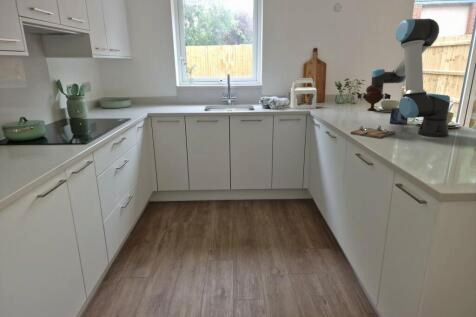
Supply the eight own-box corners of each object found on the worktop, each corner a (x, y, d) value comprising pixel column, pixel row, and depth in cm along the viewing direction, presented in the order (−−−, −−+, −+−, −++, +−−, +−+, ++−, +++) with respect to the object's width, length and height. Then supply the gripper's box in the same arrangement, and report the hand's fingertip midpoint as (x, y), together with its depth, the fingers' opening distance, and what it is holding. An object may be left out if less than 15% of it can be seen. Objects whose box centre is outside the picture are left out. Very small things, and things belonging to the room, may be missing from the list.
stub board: (394, 133, 190) (395, 127, 189) (379, 138, 179) (380, 132, 178) (366, 129, 203) (366, 123, 202) (350, 133, 192) (351, 127, 191)
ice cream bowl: (373, 112, 186) (375, 86, 182) (358, 110, 196) (360, 85, 192) (385, 110, 191) (388, 85, 186) (370, 108, 200) (373, 84, 196)
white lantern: (292, 109, 300) (293, 78, 292) (290, 107, 313) (290, 77, 305) (316, 108, 301) (317, 77, 293) (312, 106, 313) (313, 77, 305)
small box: (389, 124, 219) (391, 108, 216) (389, 122, 225) (391, 107, 222) (407, 124, 215) (409, 109, 212) (406, 123, 221) (408, 107, 218)
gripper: (394, 100, 202) (394, 104, 183) (355, 100, 212) (351, 103, 194) (396, 88, 200) (395, 91, 181) (356, 88, 210) (352, 91, 191)
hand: (372, 97), depth 187 cm, fingers closed on ice cream bowl, 11 cm apart
